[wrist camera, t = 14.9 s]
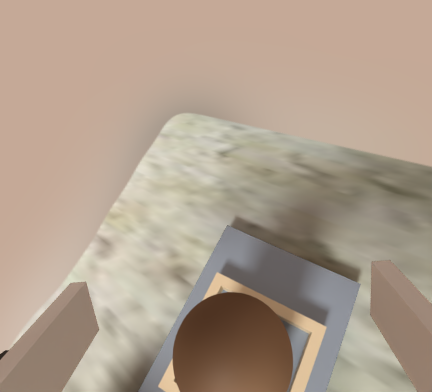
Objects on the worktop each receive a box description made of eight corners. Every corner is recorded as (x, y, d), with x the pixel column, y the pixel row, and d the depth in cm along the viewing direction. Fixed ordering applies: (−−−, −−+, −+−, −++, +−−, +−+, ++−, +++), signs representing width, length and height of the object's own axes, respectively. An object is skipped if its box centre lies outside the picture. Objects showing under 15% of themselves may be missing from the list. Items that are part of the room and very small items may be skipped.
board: (355, 287, 26) (366, 279, 23) (269, 549, 20) (271, 578, 17) (228, 231, 30) (225, 218, 27) (121, 434, 23) (103, 443, 21)
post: (288, 341, 23) (310, 325, 13) (262, 411, 22) (262, 458, 11) (229, 310, 25) (207, 273, 15) (200, 372, 23) (150, 383, 13)
